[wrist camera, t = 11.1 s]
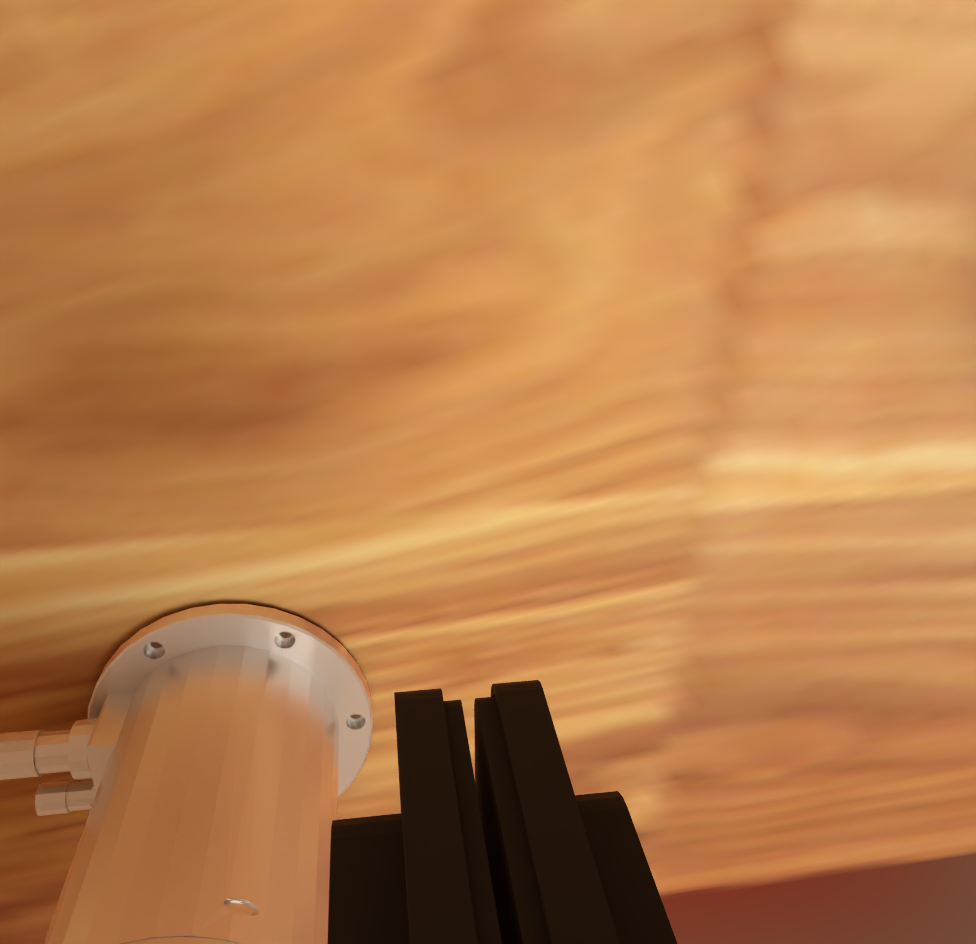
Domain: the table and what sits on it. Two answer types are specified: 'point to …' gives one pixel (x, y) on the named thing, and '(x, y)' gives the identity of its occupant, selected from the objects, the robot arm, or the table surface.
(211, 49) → the table surface
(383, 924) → the robot arm
